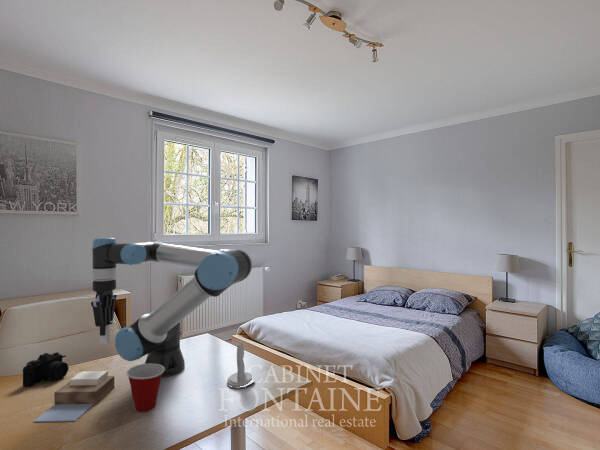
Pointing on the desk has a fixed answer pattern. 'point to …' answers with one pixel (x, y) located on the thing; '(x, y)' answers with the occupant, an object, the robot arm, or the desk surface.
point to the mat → (64, 413)
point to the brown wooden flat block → (84, 392)
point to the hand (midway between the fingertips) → (104, 343)
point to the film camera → (44, 369)
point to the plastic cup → (145, 385)
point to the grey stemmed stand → (239, 370)
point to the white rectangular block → (89, 378)
